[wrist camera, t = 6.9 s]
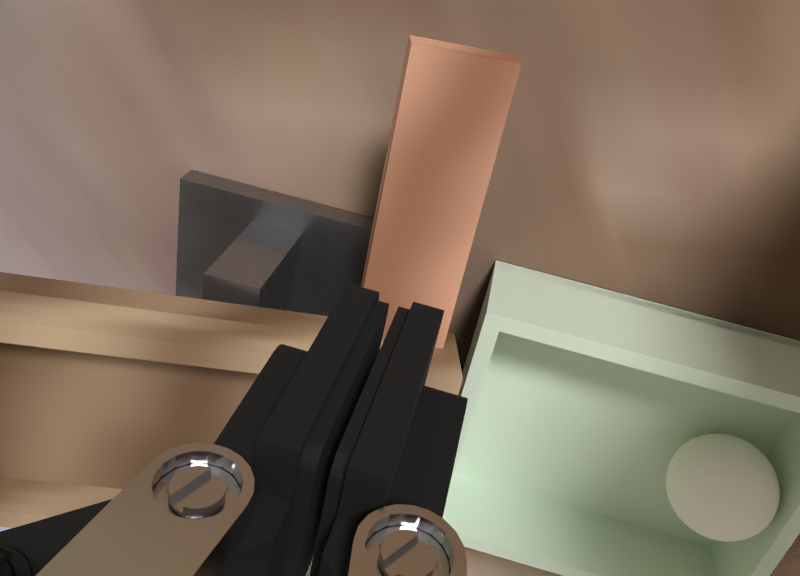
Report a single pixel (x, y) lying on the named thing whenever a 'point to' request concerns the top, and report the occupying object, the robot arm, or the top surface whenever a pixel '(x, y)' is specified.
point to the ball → (722, 487)
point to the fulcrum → (265, 247)
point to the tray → (612, 429)
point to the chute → (236, 309)
